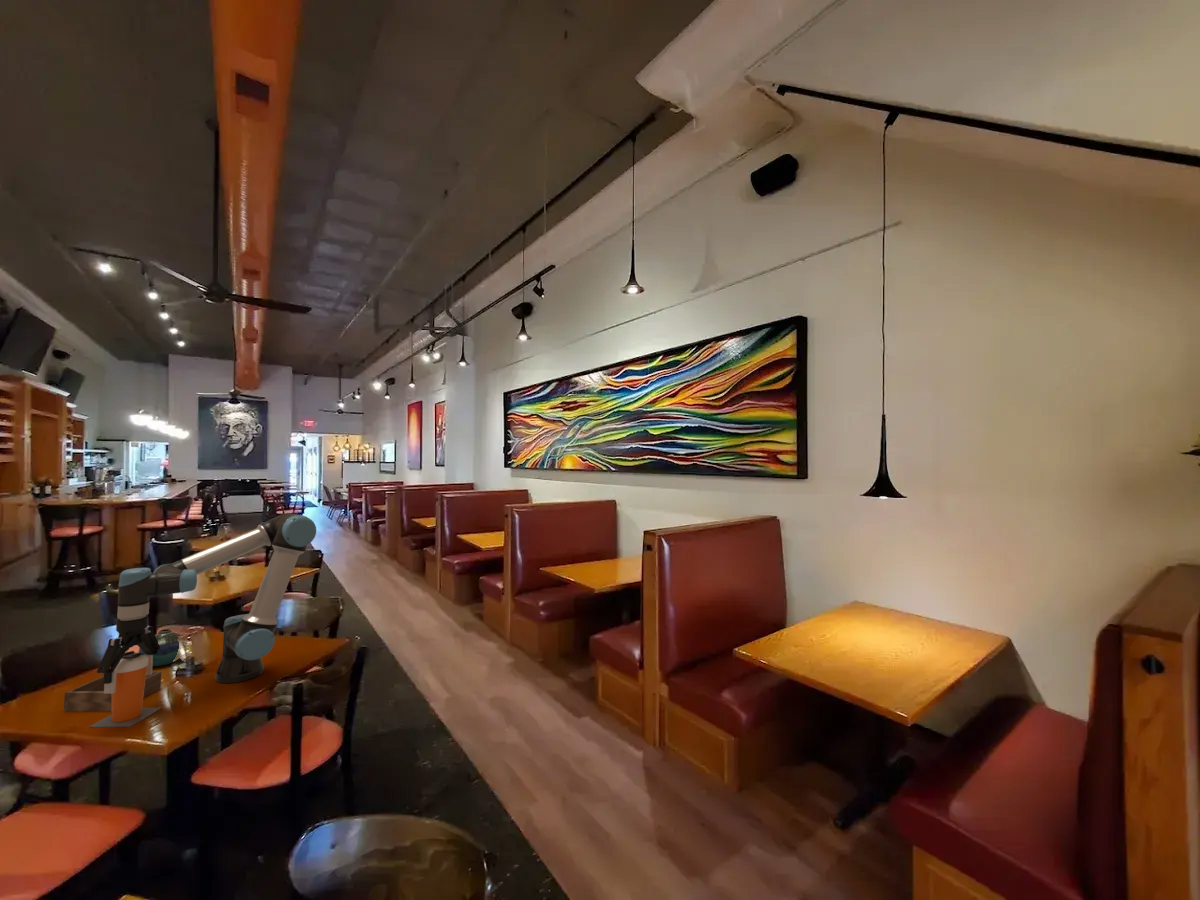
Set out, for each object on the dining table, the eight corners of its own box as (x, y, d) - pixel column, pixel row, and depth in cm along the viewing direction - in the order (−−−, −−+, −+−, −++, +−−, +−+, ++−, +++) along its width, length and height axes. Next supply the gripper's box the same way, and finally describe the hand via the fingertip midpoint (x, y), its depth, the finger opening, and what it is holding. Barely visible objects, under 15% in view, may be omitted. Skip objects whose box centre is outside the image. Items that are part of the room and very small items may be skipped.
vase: (140, 661, 205) (142, 628, 205) (188, 653, 214) (190, 622, 214) (134, 673, 192) (136, 639, 193) (185, 665, 201) (187, 632, 202)
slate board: (161, 708, 166) (161, 707, 166) (129, 727, 154) (129, 726, 154) (123, 708, 165) (123, 707, 165) (88, 727, 153) (89, 726, 153)
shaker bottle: (121, 725, 154) (125, 660, 155) (99, 721, 156) (103, 657, 157) (152, 711, 163) (156, 650, 164) (131, 708, 165) (135, 647, 166)
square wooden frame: (160, 688, 181) (161, 671, 181) (118, 711, 164) (119, 692, 164) (111, 688, 180) (112, 671, 180) (63, 711, 163) (64, 692, 163)
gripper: (152, 606, 173) (149, 667, 172) (82, 629, 148) (78, 701, 147) (175, 606, 173) (172, 667, 173) (109, 629, 149) (105, 701, 148)
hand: (129, 683), depth 160 cm, fingers open, 13 cm apart
